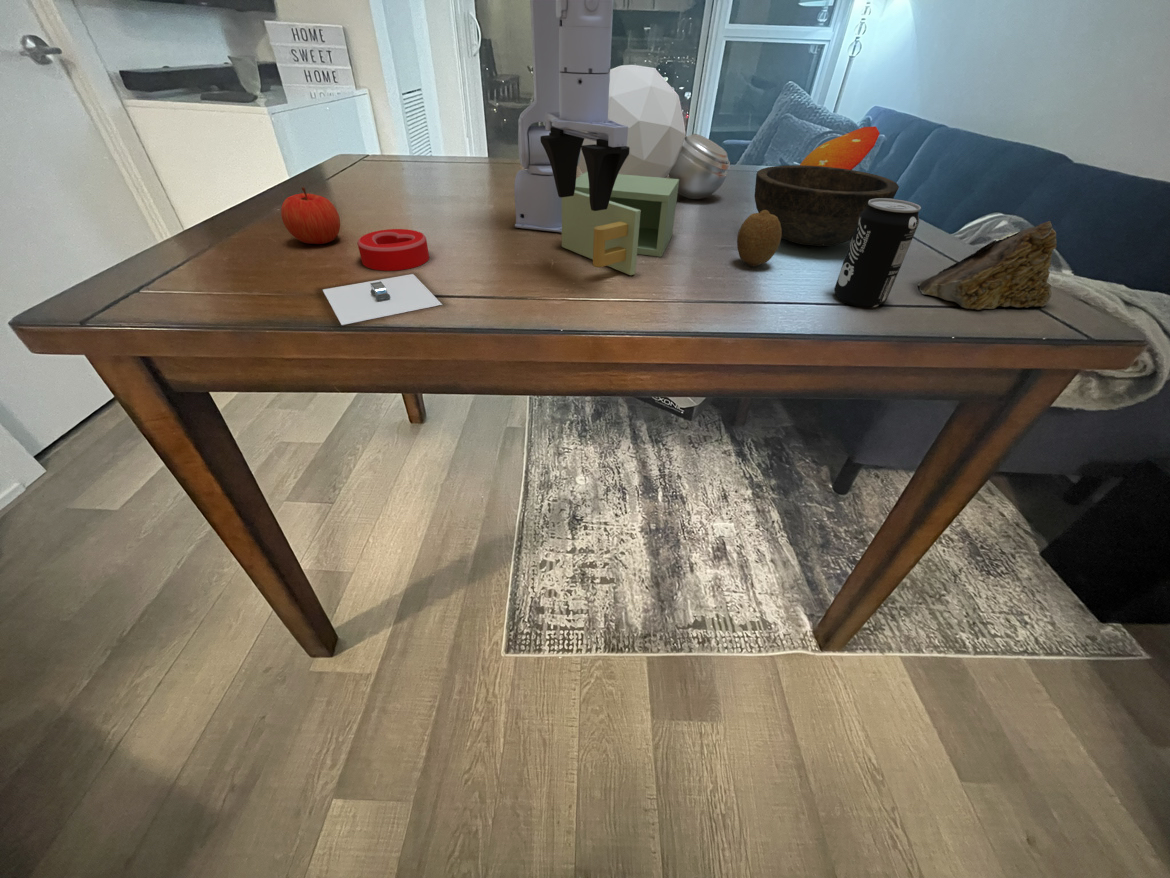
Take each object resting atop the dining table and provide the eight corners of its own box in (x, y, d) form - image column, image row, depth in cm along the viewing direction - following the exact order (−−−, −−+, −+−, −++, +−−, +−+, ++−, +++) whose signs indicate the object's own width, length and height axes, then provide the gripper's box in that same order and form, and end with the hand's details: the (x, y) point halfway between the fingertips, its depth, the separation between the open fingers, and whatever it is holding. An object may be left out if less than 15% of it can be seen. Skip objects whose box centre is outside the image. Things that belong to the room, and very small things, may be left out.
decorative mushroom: (834, 197, 114) (858, 120, 105) (866, 222, 98) (898, 134, 89) (768, 194, 115) (786, 117, 106) (789, 218, 99) (812, 130, 89)
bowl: (874, 234, 92) (897, 173, 85) (874, 271, 76) (901, 201, 70) (754, 217, 99) (767, 160, 92) (731, 249, 83) (745, 182, 77)
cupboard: (661, 257, 79) (669, 195, 73) (565, 245, 82) (565, 185, 77) (672, 235, 88) (679, 179, 83) (585, 226, 91) (586, 171, 86)
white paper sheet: (341, 325, 58) (337, 312, 57) (322, 289, 65) (318, 278, 65) (442, 304, 63) (440, 293, 62) (413, 273, 71) (411, 263, 70)
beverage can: (823, 290, 70) (854, 197, 62) (868, 289, 70) (904, 197, 63) (846, 309, 65) (883, 211, 57) (894, 309, 65) (937, 211, 58)
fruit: (723, 261, 78) (734, 206, 73) (756, 256, 80) (768, 203, 75) (748, 274, 74) (762, 217, 69) (782, 269, 76) (797, 213, 71)
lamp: (557, 153, 117) (598, 28, 100) (689, 214, 124) (746, 107, 108) (545, 187, 100) (591, 46, 84) (697, 255, 108) (767, 137, 92)
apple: (282, 241, 80) (264, 186, 75) (331, 231, 85) (317, 179, 80) (304, 253, 76) (286, 196, 71) (354, 242, 81) (340, 188, 76)
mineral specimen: (891, 260, 72) (995, 195, 69) (909, 331, 79) (1004, 274, 76) (953, 287, 62) (1078, 211, 59) (967, 364, 69) (1079, 301, 66)
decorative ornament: (354, 270, 71) (348, 248, 69) (372, 248, 79) (367, 227, 77) (422, 271, 72) (418, 248, 70) (434, 249, 79) (430, 228, 77)
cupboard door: (603, 283, 69) (606, 217, 64) (535, 253, 78) (532, 192, 73) (635, 274, 72) (641, 210, 67) (566, 245, 82) (566, 187, 76)
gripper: (521, 69, 59) (527, 194, 67) (592, 77, 50) (588, 220, 58) (571, 69, 62) (570, 188, 71) (647, 76, 53) (635, 212, 61)
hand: (582, 202), depth 65 cm, fingers open, 7 cm apart
